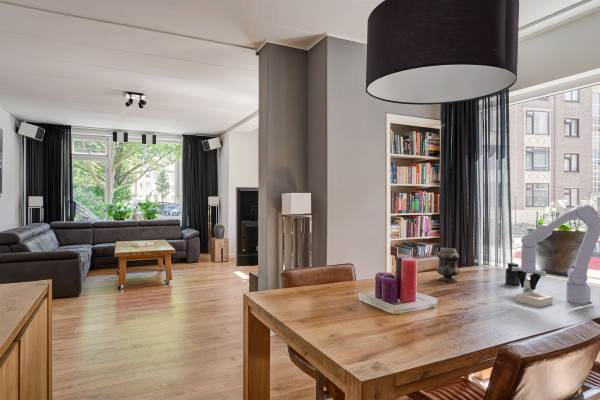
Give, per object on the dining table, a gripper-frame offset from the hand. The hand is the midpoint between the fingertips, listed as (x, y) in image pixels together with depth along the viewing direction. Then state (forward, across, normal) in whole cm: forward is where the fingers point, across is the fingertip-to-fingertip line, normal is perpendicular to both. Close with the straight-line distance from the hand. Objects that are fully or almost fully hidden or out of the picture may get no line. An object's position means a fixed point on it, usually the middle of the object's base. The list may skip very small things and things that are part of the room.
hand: (528, 288), depth 171 cm
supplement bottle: (+4, -16, +15) cm, 22 cm away
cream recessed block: (+4, +5, -6) cm, 9 cm away
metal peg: (+2, 0, 0) cm, 2 cm away
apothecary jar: (+4, -41, -5) cm, 42 cm away
